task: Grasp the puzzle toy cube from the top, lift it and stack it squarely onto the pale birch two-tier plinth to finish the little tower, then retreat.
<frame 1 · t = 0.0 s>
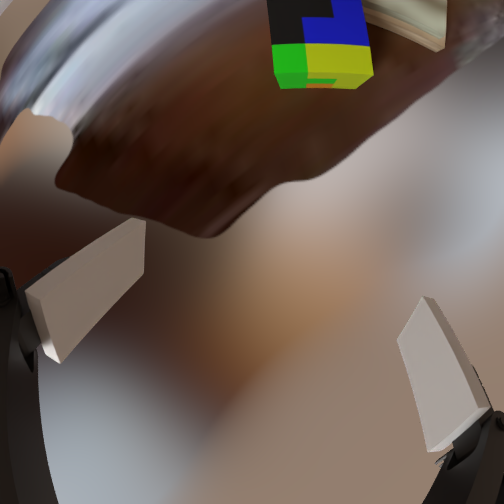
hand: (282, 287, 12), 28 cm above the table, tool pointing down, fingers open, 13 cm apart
puzzle toy: (315, 55, 30), on the table
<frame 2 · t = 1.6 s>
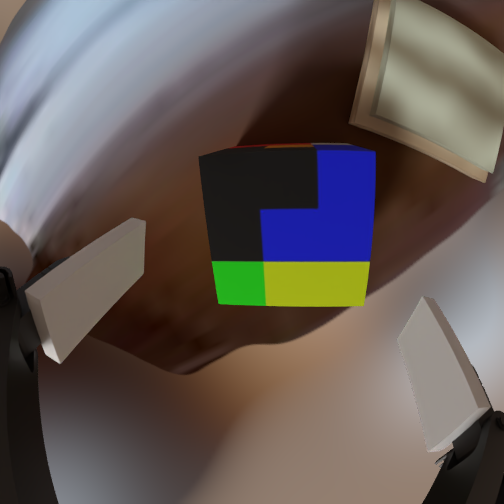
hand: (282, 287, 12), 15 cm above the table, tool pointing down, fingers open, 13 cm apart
puzzle toy: (293, 196, 26), on the table
plinth: (431, 84, 18), on the table
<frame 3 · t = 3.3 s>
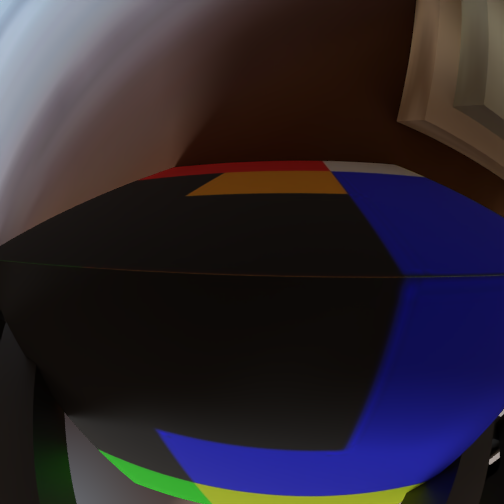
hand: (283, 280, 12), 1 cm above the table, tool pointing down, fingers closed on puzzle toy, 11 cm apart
puzzle toy: (285, 264, 14), on the table, touching gripper
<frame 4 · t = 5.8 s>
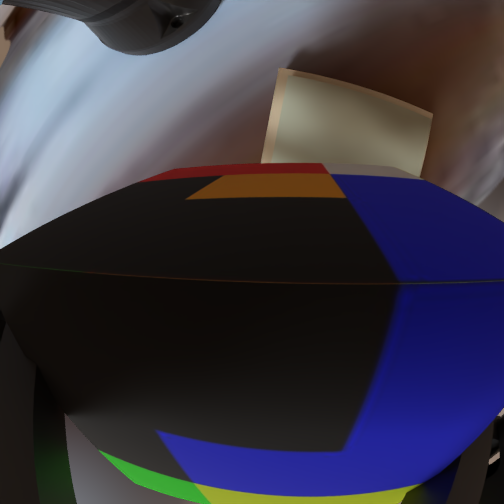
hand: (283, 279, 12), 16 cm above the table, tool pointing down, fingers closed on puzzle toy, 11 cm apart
puzzle toy: (284, 266, 14), point 14 cm above the table, touching gripper
plinth: (340, 160, 24), on the table
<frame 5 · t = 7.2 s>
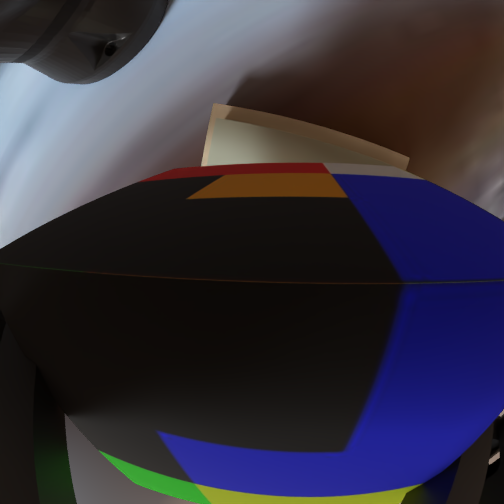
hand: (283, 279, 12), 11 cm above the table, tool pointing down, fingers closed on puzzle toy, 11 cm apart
puzzle toy: (285, 266, 14), point 10 cm above the table, touching gripper
plinth: (291, 209, 22), on the table
when the fingers open (8 cm above the table, at t = 8.4 s): puzzle toy drops 1 cm, resting on plinth.
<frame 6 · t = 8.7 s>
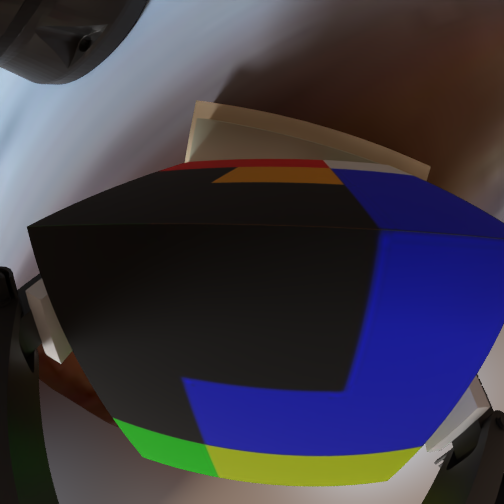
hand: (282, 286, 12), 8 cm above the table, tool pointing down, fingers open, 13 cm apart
puzzle toy: (286, 253, 15), point 5 cm above the table, touching plinth
plinth: (289, 225, 19), on the table
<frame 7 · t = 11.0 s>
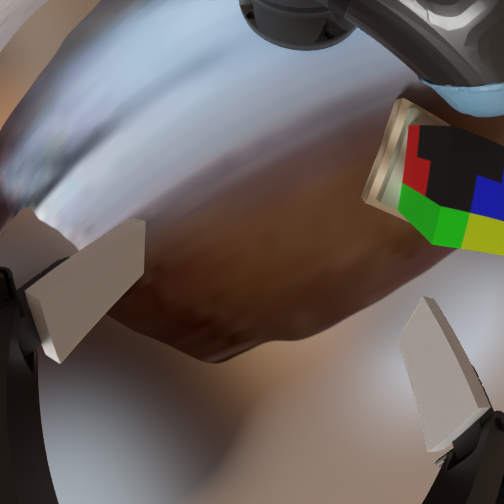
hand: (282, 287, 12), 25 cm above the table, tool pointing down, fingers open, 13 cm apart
puzzle toy: (439, 176, 26), point 5 cm above the table, touching plinth
plinth: (423, 170, 30), on the table
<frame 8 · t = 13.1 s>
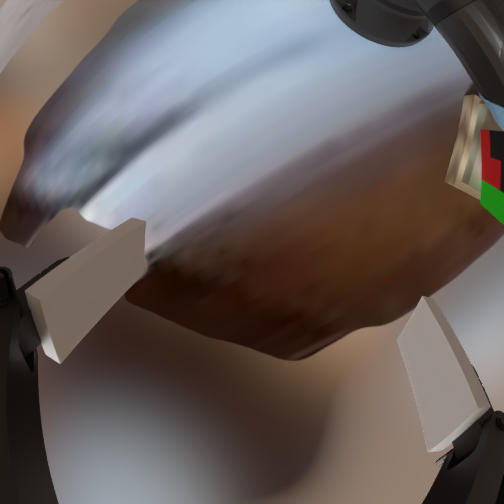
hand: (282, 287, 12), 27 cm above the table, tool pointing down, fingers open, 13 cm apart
plinth: (487, 156, 28), on the table
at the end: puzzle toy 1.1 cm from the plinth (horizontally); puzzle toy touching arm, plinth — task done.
